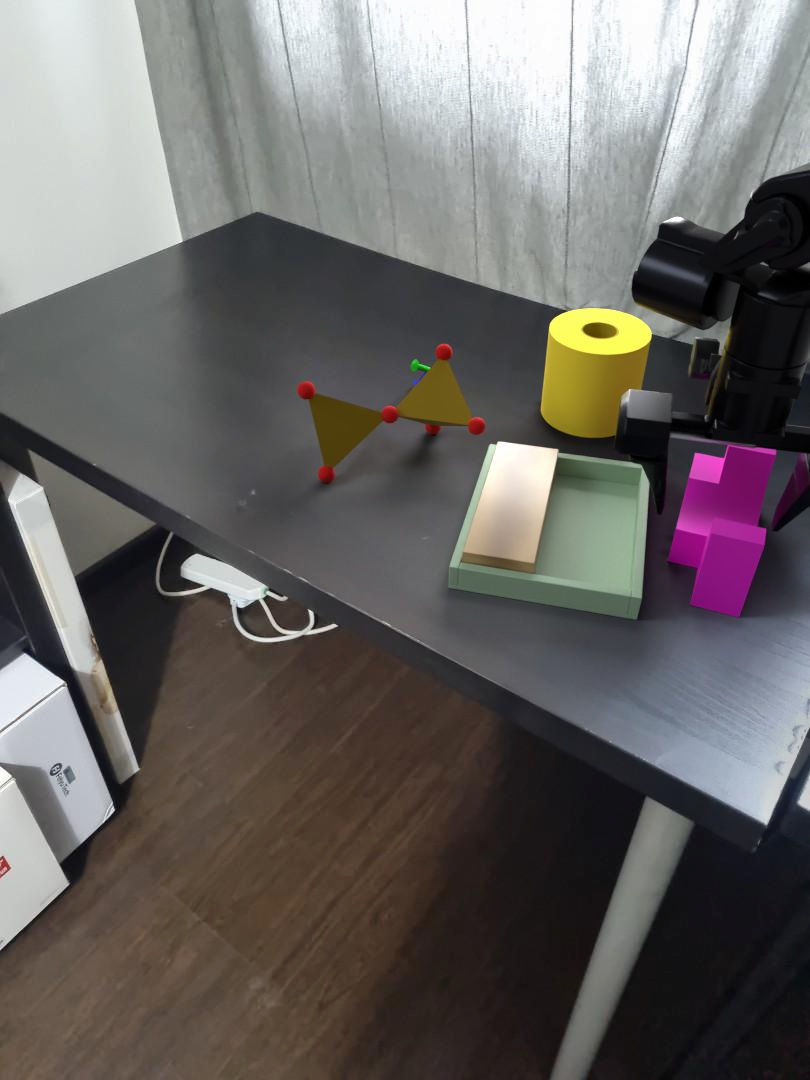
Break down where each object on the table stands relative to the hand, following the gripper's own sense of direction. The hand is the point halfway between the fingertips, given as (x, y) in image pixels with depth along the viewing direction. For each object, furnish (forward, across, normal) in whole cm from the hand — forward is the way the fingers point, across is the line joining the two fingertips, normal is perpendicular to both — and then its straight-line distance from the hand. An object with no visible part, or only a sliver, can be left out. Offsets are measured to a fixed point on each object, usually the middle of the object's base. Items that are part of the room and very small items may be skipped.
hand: (716, 520), depth 69 cm
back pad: (+3, +17, +1) cm, 17 cm away
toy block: (+4, 0, 0) cm, 4 cm away
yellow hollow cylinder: (+3, +12, -20) cm, 24 cm away
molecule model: (+4, +32, -10) cm, 34 cm away
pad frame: (+3, +13, +1) cm, 13 cm away
